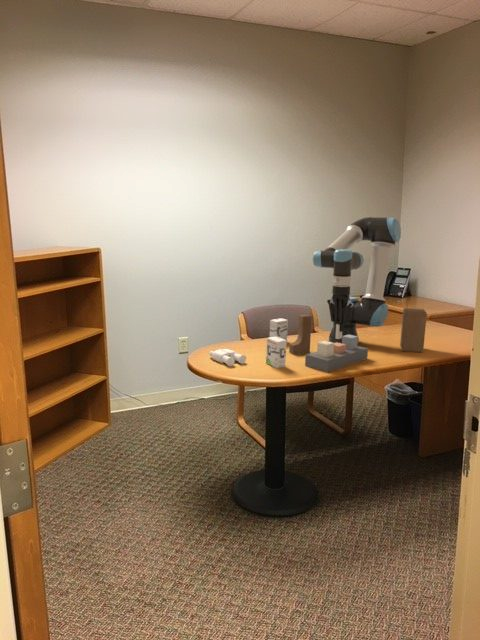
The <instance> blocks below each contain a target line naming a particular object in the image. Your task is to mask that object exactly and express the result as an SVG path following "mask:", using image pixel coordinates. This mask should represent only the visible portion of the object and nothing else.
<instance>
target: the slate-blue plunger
mask: <svg viewBox="0 0 480 640" xmlns="http://www.w3.org/2000/svg"><path fill="white" fill-rule="evenodd" d="M358 338H359V335H358V336H354V335H345V336H342V344H346V349H347V350H354V349H357V346H358V344H359V341H358ZM357 343H358V344H357Z"/></svg>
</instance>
